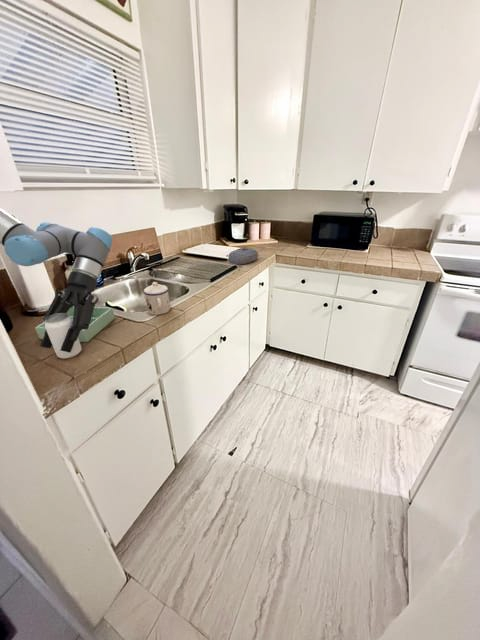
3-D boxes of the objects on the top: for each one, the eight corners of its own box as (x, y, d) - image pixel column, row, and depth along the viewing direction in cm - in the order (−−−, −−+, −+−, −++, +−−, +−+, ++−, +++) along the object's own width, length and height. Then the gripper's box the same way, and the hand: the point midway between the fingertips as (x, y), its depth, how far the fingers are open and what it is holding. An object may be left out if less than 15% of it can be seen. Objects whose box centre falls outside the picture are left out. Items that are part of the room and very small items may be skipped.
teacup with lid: (146, 307, 106) (141, 280, 100) (168, 304, 109) (165, 277, 103) (149, 320, 96) (144, 291, 90) (174, 316, 99) (170, 287, 94)
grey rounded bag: (243, 266, 157) (263, 259, 171) (243, 252, 153) (263, 247, 167) (225, 262, 166) (245, 256, 179) (225, 248, 162) (245, 243, 175)
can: (54, 352, 78) (40, 317, 72) (78, 344, 82) (66, 310, 76) (60, 362, 74) (45, 325, 68) (85, 352, 78) (72, 317, 72)
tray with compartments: (39, 339, 85) (34, 327, 83) (73, 316, 99) (70, 305, 97) (87, 342, 83) (83, 330, 81) (114, 318, 98) (112, 307, 96)
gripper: (119, 284, 80) (93, 357, 74) (69, 278, 85) (40, 346, 79) (102, 273, 73) (72, 352, 67) (49, 267, 78) (16, 341, 72)
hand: (55, 349), depth 73 cm, fingers closed on can, 6 cm apart
